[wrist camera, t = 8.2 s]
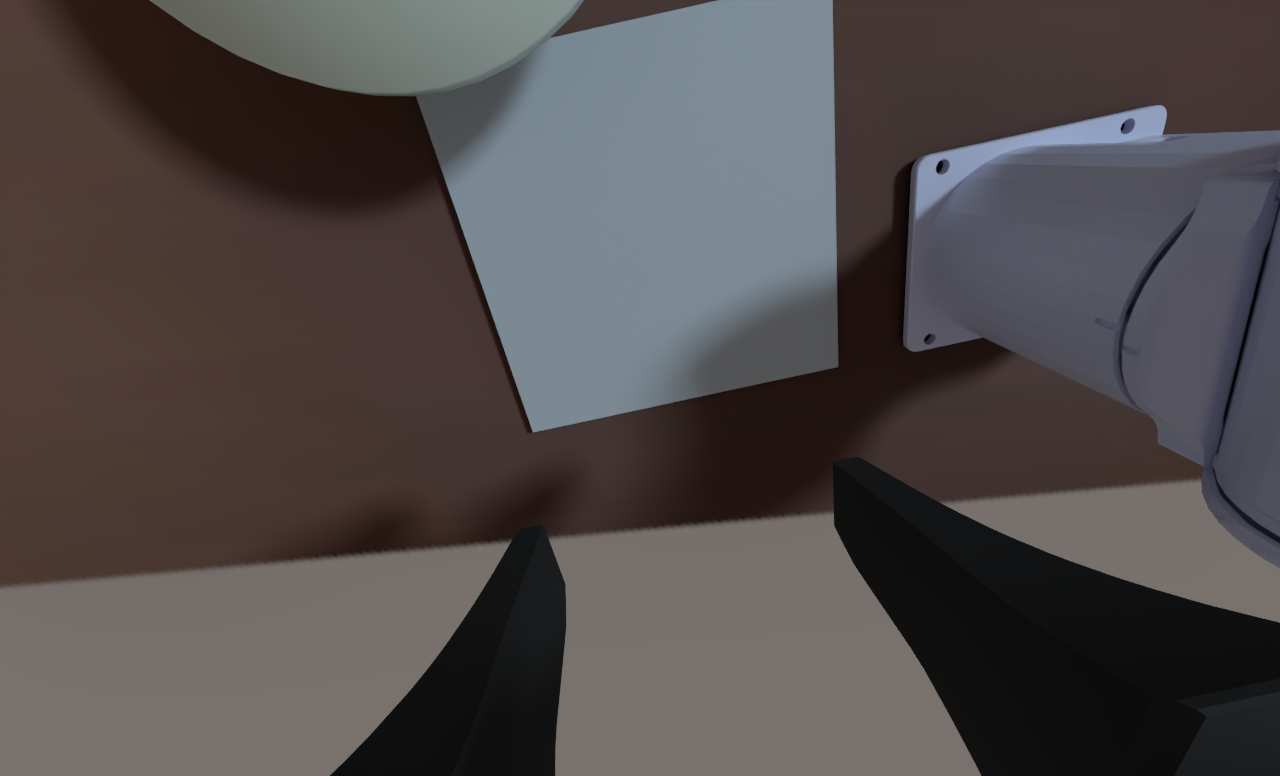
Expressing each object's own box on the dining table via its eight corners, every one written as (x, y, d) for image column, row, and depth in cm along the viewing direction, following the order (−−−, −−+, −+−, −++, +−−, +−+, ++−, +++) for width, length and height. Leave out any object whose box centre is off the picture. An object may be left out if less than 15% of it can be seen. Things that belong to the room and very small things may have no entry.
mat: (826, -21, 16) (831, -26, 16) (834, 363, 22) (838, 366, 22) (411, 72, 16) (407, 70, 16) (533, 427, 22) (532, 432, 22)
